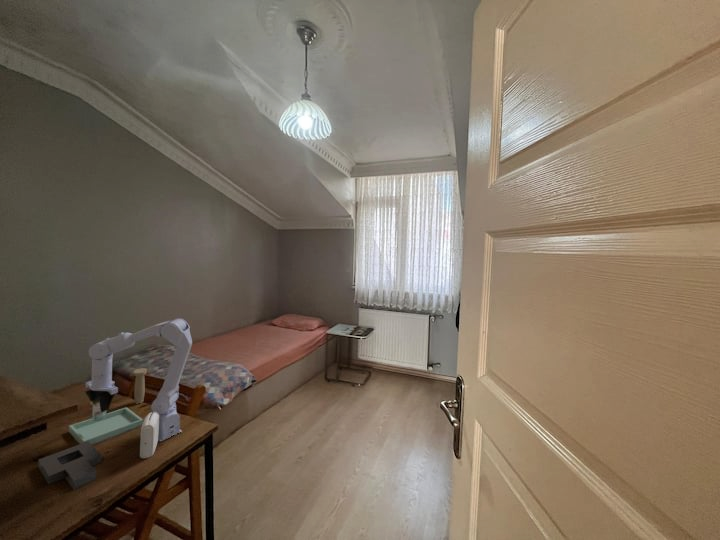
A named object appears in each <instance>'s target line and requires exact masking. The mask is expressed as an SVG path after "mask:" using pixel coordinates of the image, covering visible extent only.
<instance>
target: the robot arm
mask: <svg viewBox="0 0 720 540" xmlns="http://www.w3.org/2000/svg"><path fill="white" fill-rule="evenodd" d="M190 328H191V327H190V325H189V323H188V321H186V320H185V319H183V318H179V317H178V318H175V319H173V320H166V321H163V322H160V323H159V322H158V323H157V324H154V325H152V326H149V327H147V328H144V329H141V330H139V331H136V332H133V333H131V332H124V331H123V332H120V333H117V335H116V336H113V337H111V338H110V337H106V338H105V339H104V340H102V341H99V342H98V343H95V344H93V345H92V346H90V347H89V349H88V355H89V357H90V358H91V380H89V381H87V382H85V388H87V389H88V388H89V390H86V391H85V394H86V396H87V397H88V399H89V402H90V401H92V400H94V399H97V398H98V399H99V401H100V409H101V412H104V411H106V410H107V411H108V410H109V409H110V407H111V403H112V401H113V398H114V397H115V395H116V394H118V393H119V387H117V386H116V385H115V381H114V380H113V355H114V354H115V353H118V352H121V351H125V350H126V349H129V348H132V347H133V346H134V345H135V343H136V342H138V341H141V340H144V339H147V338H149V337H154V336H156V337H159V338H163V339H165V340H166V341H168V342H169V343H171V344H172V345H173V346H174V347H175V349H174V352H173V355H172V358H171V361H170V363H169V367H168V369H167V373H166V376H165V379H164V382H163V384H162V387H161V388H160V390H159V392H158V393H157V396H156V398H155V399H154V400H153V401H152V403H151V405H150V410H152V411H151V412H157V413H158V414H159V433H158V442H162V441H165V440H167V439H169V438H171V436H172V437H173V435H174V436H176V435H178V434H177V433H179V434H181V433H182V432H183V430H182V429H180V428H181V427H180V426H181V416H180V414H179V413H178V412H177V404H176V401H177V400H179V397H180V396H179V395H180V393H179V390H180V389H179V388H180V385H179V383H180V381H181V378H182V375H183V373H184V369H185V367H186V363H187V360H188V358H189V355H190V352H191V349H192V346H193V339H192V335H191V331H190ZM91 407H92V409H93V405H91ZM180 432H181V433H180Z"/></svg>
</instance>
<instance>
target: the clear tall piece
mask: <svg viewBox="0 0 720 540" xmlns="http://www.w3.org/2000/svg"><path fill="white" fill-rule="evenodd" d="M89 405H90V406H92V405H93V408H92V417H91V419H92V420H93V421H100V420H103V419H105V418H106V417H107V412H108V410H106V411H104V412H101V409H100V401H99V399H98V398H97V399H94V400H92V401H90V400H89Z"/></svg>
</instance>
